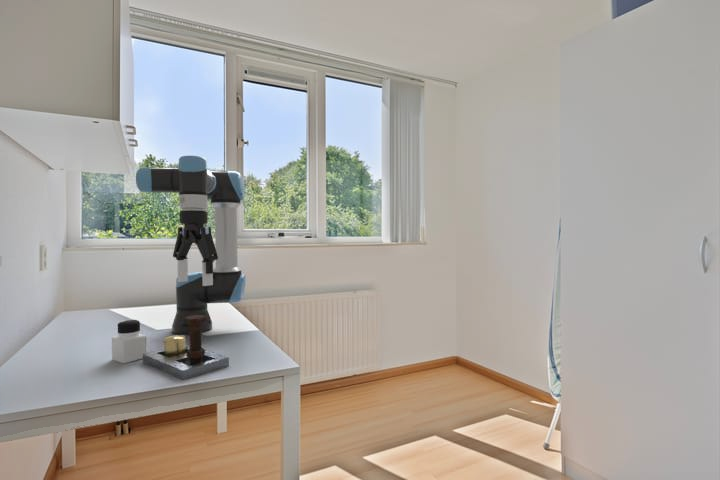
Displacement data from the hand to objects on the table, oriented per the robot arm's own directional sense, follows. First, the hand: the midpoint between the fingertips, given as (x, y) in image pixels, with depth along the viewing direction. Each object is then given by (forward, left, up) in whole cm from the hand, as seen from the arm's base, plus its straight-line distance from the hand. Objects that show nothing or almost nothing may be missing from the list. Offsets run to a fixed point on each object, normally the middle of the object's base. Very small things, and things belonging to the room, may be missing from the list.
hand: (194, 283), depth 116 cm
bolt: (0, 0, -25) cm, 25 cm away
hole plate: (-6, 0, -25) cm, 25 cm away
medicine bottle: (-25, -8, -25) cm, 36 cm away
